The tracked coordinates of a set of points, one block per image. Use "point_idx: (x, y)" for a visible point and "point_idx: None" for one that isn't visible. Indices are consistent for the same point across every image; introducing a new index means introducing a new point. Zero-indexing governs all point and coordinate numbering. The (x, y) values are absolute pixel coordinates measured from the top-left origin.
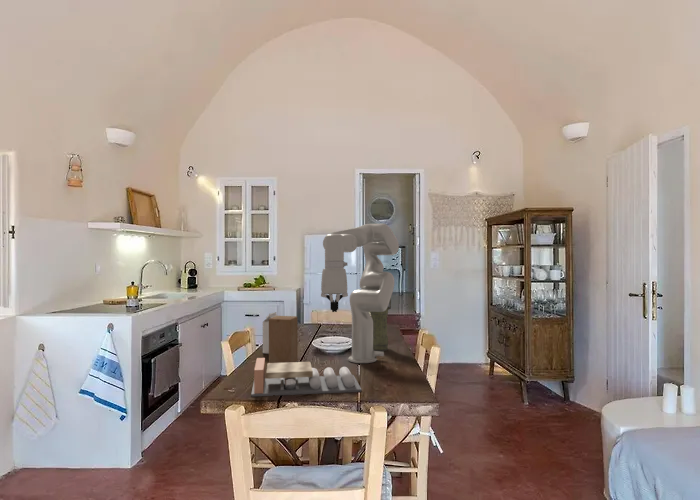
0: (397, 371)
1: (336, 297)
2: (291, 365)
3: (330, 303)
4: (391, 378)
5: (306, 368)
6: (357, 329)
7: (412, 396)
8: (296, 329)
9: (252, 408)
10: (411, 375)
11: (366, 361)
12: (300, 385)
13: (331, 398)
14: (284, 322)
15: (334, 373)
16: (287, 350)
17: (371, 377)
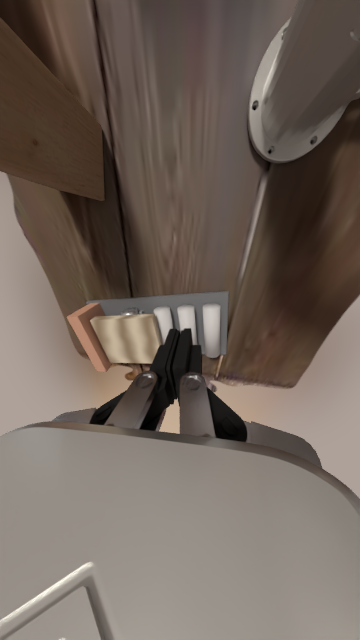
0: (332, 254)
1: (186, 407)
2: (129, 336)
3: (151, 367)
4: (291, 303)
5: (153, 352)
6: (351, 28)
7: (280, 372)
8: (3, 50)
9: (125, 376)
10: (342, 287)
11: (293, 159)
12: None
13: None
14: None
15: (193, 333)
16: (72, 191)
17: (258, 294)
